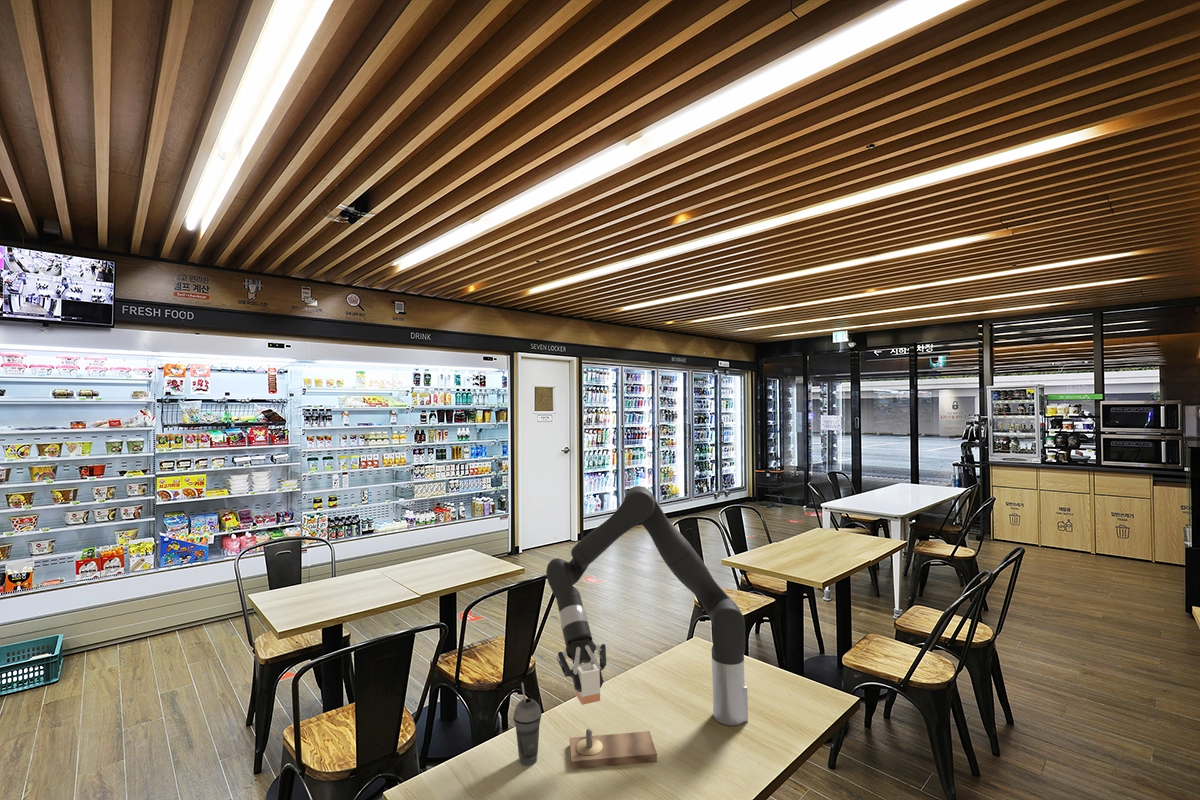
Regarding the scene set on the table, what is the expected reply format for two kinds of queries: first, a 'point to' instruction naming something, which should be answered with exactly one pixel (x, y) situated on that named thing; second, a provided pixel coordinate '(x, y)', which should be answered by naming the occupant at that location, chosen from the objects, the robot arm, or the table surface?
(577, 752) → the pin board
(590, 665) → the sleeve
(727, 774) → the table surface
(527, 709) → the beverage cup
